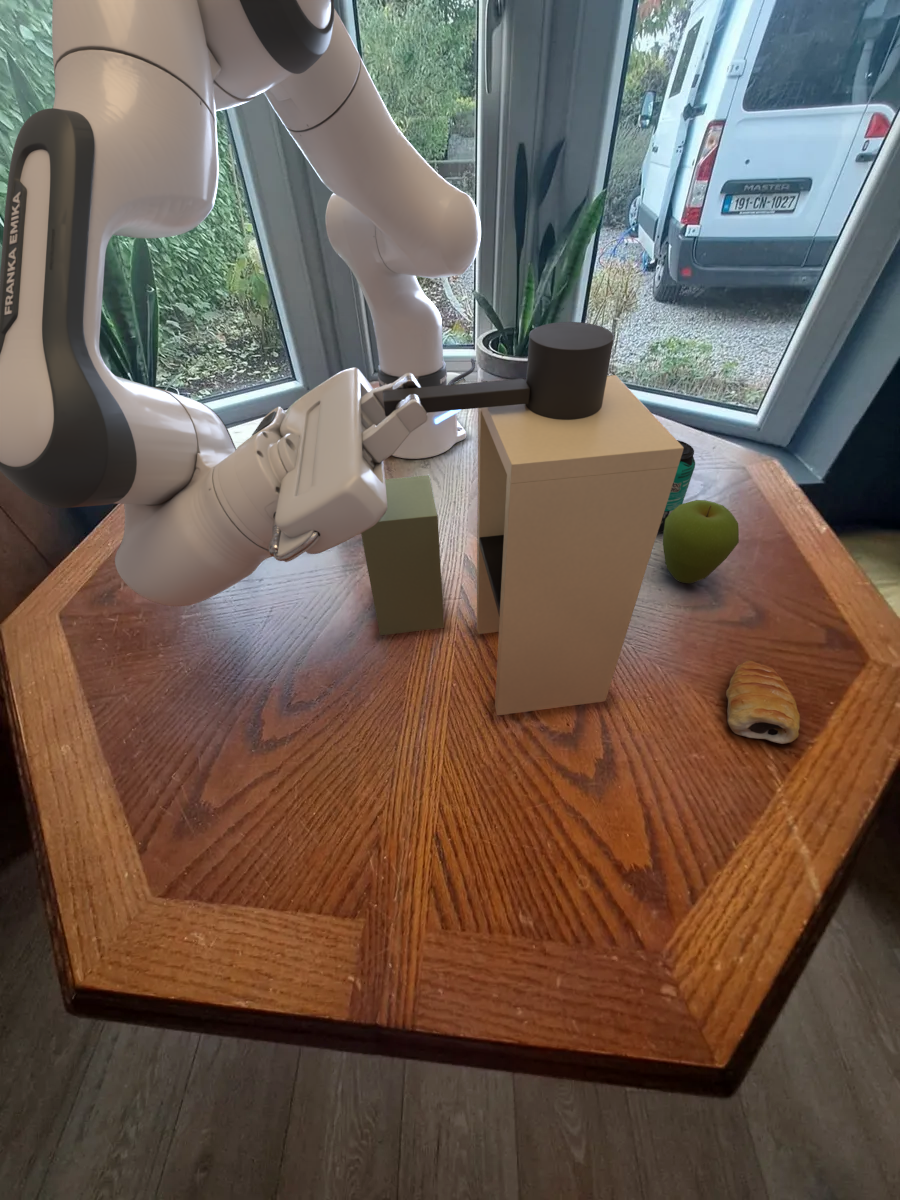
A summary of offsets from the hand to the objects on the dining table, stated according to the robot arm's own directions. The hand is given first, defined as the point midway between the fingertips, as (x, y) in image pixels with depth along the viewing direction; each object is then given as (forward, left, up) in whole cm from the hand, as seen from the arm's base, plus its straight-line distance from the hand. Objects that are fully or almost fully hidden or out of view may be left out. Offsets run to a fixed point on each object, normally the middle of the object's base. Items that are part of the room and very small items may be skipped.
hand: (420, 394), depth 39 cm
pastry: (+12, +32, -32) cm, 47 cm away
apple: (-9, +34, -32) cm, 48 cm away
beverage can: (-22, +35, -32) cm, 52 cm away
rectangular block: (-9, -3, -32) cm, 33 cm away
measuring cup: (0, +6, -2) cm, 6 cm away
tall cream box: (+2, +11, -32) cm, 34 cm away
